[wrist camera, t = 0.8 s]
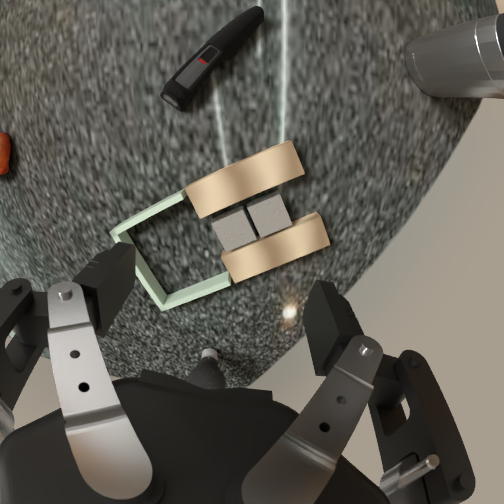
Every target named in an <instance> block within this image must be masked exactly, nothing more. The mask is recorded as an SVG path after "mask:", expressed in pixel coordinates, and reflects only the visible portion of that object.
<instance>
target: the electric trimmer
mask: <svg viewBox="0 0 504 504" xmlns="http://www.w3.org/2000/svg"><path fill="white" fill-rule="evenodd" d="M263 20H264V11H263V9H262V8H261V7H259V6H254V7H252V8H250V9H248V10H247V11H245V12H244V13H242V14H241V15H239V16H238V17H236V18H235V19H234V20H232V21H231V22H230V23H229V24H227V25H226V26H225V27H223V28H222V29H221V30H220V31H218V32H217V33H216V34H215V35H214V36H213V37H211V38H210V39H209V40H208V41H207V42H206V44H205V45H204V46H203V47H202V48H201V49H200V50H199V51H198V52H197V53H196V54H194V55H193V56H192V57H191V58H190V59H189V60H188V61H187V62H186V63H185V64H184V65H183V66H182V67H181V68H180V69H179V70H178V71H177V72H176V74H175V75H174V76H173V77H172V78H171V79H170V80H169V81H168V82H167V83H166V84H165V86H164V88H163V91H162V92H161V95H160V96H161V98H162V99H164V100H165V101H166V102H168V103H169V104H171V105H172V106H173V107H175V108H176V109H177V110H179V111H181V110H182V108H184V107H187V105H188V104H189V102H190V99H191V96H192V94H193V93H194V92H195V91H196V89H197V88H198V87H199V86H200V84H201V83H202V82H203V81H204V80H205V79H206V77H207V76H208V75H209V74H210V73H211V72H212V71H213V70H214V69H215V68H216V67H217V66H218V65H219V64H220V63H222V62H223V61H225V60H227V59H229V58H231V57H232V56H233V55H234V54H235V53H236V52H237V51H238V49H239V48H240V47H241V46H242V45H243V44H244V42H245V41H246V40H247V39H248V38H249V37H250V36H251V34H252V33H253V32H254V31H255V30H256V29H257V28H258V27H259V26H260V24H261V23H262V22H263Z"/></svg>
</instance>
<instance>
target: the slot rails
mask: <svg viewBox="0 0 504 504" xmlns="http://www.w3.org/2000/svg"><path fill="white" fill-rule="evenodd" d="M303 174H305V173H304V170H303V168H302V165H301V163H300V160H299V158H298V155H297V153H296V150H295V148H294V145H293V143H292V141H289V140H288V141H286V142H283V143H281V144H278V145H276V146H273V147H271V148H268V149H266V150H264V151H261V152H259V153H256V154H254V155H252V156H249V157H247V158H245V159H242V160H240V161H238V162H236V163H233V164H231V165H229V166H227V167H225V168H222V169H220V170H218V171H216V172H214V173H212V174H210V175H207V176H205V177H203V178H201V179H199V180H197V181H195V182H193V183H191V184H189V185H187V186H186V188H185V191H186V193H187V195H188V197H189V199H190V200H191V202H192V204H193V206H194V208H195V210H196V212H197V214H198V216H199V218H200V219H201V218H203V217H205V216H207V215H210V214H212V213H214V212H216V211H218V210H221V209H223V208H225V207H227V206H230V205H232V204H234V203H236V202H239V201H241V200H243V199H245V198H248V197H250V196H252V195H255V194H257V193H259V192H262V191H264V190H267V189H269V188H271V187H274V186H276V185H279V184H281V183H283V182H286V181H288V180H291V179H293V178H296V177H298V176H301V175H303ZM328 245H330V242H329V239H328V236H327V233H326V230H325V227H324V224H323V221H322V219H321V216H320V215H319V214H318V213H317V212H314V213H312V214H309V215H307V216H304V217H302V218H300V219H297V220H295V221H292V225H291V226H288V227H286V228H284V229H281V230H279V231H276V232H274V233H271V234H269V235H267V236H264V237H262V238H261V237H260V235H259V236H257V240H254V241H252V242H249V243H247V244H245V245H242V246H240V247H237V248H235V249H233V250H230V251H228V252H226V251H225V250H223V251H222V255H221V259H222V260H223V262H224V264H225V266H226V268H227V269H228V271H229V273H230V275H231V277H232V279H233V280H234V282H235V283H237V282H239V281H242V280H244V279H247V278H249V277H252V276H255V275H257V274H260V273H262V272H265V271H267V270H270V269H272V268H275V267H277V266H280V265H282V264H285V263H287V262H290V261H292V260H294V259H297V258H299V257H302V256H304V255H307V254H309V253H312V252H314V251H316V250H319V249H321V248H324V247H326V246H328Z"/></svg>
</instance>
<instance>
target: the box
mask: <svg viewBox="0 0 504 504" xmlns="http://www.w3.org/2000/svg"><path fill="white" fill-rule="evenodd" d="M186 196H187V193H186V191H185V189H183V190H181V191H179V192H177V193H175V194H173V195H171V196H169V197H167V198H165V199H163V200H162V201H160V202H158V203H156V204H154V205H152V206H150V207H149V208H147V209H145V210H143V211H141V212H140V213H138V214H136V215H134V216H132V217H131V218H129V219H127V220H125V221H124V222H122V223H120V224H119V225H117V226H116V227H115V228H114V229H113V230H111V231H110V234H111V235H112V237H113V239H114V240H115V242H116V243H117V242H124V243H129V244H134V243H133V241H132V240H131V238H130V236H129V235H128V233H127V231H126V230H127V229H128V228H130V227H132V226H134V225H136V224H137V223H139V222H141V221H143V220H145V219H147V218H149V217H150V216H152V215H154V214H156V213H158V212H160V211H162V210H164V209H166V208H168V207H169V206H171V205H173V204H175V203H177V202H179V201H181V200H183V199H184V198H185V197H186ZM135 247H136V246H135ZM136 275H137V277H138V278H139V280H140V281H141V283H142V284H143V286H144V287H145V288H146V290H147V291H148V293H149V294H150V296H151V297H152V299H153V300H154V301H155V303H156V304H157V306H158V307H159V308H160V310H161V311H164V310H167V309H170V308H173V307H175V306H178V305H181V304H183V303H186V302H189V301H191V300H194V299H197V298H199V297H202V296H204V295H207V294H210V293H212V292H215V291H217V290H220V289H223V288H225V287H228V286H230V285H231V275H230V273H229V271H227V272H225V273H222V274H220V275H217V276H215V277H212V278H210V279H207V280H205V281H202V282H200V283H197V284H195V285H192V286H190V287H187V288H185V289H182V290H180V291H177V292H175V293H172V294H169V295H167V294H166V293H165V291H164V290H163V288H162V287H161V285H160V284H159V282H158V281H157V279H156V278H155V276H154V275H153V273H152V272H151V270H150V269H149V267H148V266H147V264H146V262H145V261H144V259H143V258H142V256H141V254H140V253H139V251H138V250H137V248H136Z"/></svg>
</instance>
